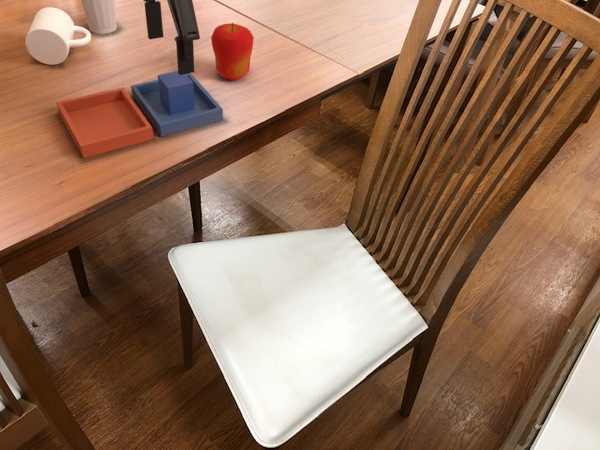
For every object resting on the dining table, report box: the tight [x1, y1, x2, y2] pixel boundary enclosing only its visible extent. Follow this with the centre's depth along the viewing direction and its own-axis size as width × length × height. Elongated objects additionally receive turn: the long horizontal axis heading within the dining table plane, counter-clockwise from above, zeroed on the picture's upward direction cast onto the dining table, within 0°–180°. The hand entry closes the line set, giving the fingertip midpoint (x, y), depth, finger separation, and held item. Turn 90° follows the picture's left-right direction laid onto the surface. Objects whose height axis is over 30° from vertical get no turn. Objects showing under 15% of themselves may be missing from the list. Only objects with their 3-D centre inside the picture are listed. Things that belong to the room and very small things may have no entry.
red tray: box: [56, 87, 155, 159], centre depth 93 cm, size 15×13×3 cm
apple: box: [210, 22, 255, 81], centre depth 106 cm, size 9×8×12 cm
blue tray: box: [130, 73, 224, 138], centre depth 99 cm, size 15×13×3 cm
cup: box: [80, 0, 118, 35], centre depth 115 cm, size 8×8×12 cm
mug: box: [24, 6, 92, 66], centre depth 107 cm, size 12×10×8 cm
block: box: [156, 70, 195, 115], centre depth 97 cm, size 5×5×6 cm
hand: (170, 54), depth 92 cm, fingers open, 13 cm apart
